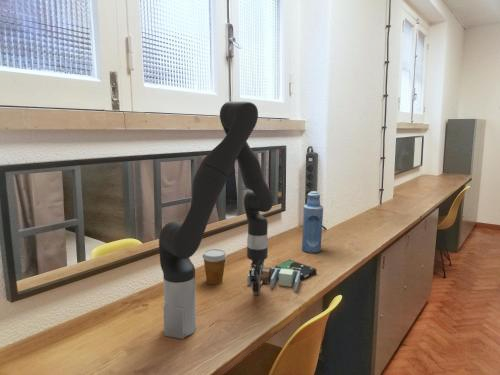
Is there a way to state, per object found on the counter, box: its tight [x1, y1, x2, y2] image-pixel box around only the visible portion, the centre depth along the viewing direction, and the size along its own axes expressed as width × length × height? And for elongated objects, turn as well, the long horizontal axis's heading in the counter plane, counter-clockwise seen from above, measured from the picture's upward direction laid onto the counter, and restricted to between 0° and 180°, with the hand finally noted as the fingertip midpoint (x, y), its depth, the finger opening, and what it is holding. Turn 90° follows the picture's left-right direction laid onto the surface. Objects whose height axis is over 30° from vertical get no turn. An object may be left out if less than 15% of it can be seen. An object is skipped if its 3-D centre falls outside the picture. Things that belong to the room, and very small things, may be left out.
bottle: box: [301, 190, 324, 254], centre depth 177 cm, size 10×10×30 cm
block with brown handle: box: [252, 265, 272, 296], centre depth 138 cm, size 16×5×8 cm, turn 165°
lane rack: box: [246, 267, 301, 293], centre depth 141 cm, size 11×19×4 cm, turn 75°
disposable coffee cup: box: [202, 248, 228, 285], centre depth 141 cm, size 10×10×12 cm
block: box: [278, 268, 294, 287], centre depth 141 cm, size 5×5×5 cm
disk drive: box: [274, 259, 317, 282], centre depth 153 cm, size 10×3×15 cm
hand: (256, 289), depth 132 cm, fingers closed on block with brown handle, 2 cm apart
